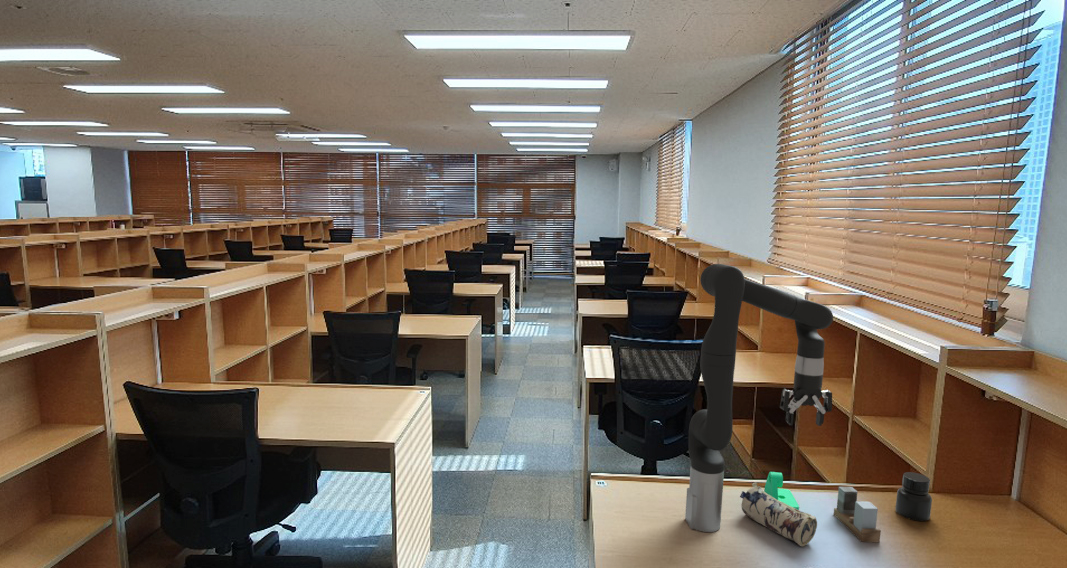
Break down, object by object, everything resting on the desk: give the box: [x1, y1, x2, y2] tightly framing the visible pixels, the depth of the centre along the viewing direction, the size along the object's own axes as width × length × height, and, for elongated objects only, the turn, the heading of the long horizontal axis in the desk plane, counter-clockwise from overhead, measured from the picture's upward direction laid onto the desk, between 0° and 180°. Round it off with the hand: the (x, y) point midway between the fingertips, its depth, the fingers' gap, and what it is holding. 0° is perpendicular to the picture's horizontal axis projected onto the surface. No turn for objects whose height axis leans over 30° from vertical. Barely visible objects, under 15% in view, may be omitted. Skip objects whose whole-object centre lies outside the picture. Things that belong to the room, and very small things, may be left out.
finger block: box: [853, 500, 879, 531], centre depth 169 cm, size 4×4×7 cm
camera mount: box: [763, 471, 800, 511], centre depth 186 cm, size 12×8×10 cm, turn 171°
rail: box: [833, 486, 882, 543], centre depth 173 cm, size 5×15×9 cm, turn 1°
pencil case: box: [739, 482, 818, 547], centre depth 171 cm, size 22×8×10 cm, turn 29°
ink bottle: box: [894, 471, 933, 522], centre depth 181 cm, size 10×9×12 cm
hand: (804, 424), depth 176 cm, fingers open, 8 cm apart
